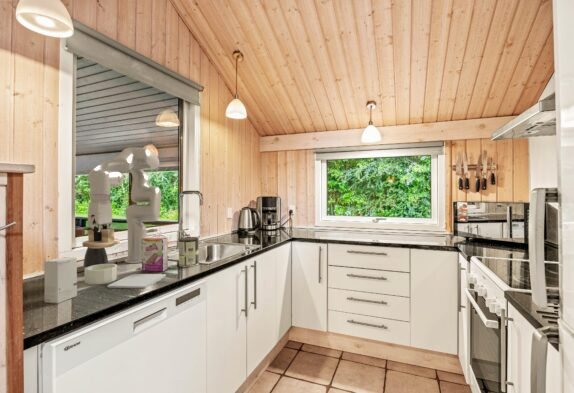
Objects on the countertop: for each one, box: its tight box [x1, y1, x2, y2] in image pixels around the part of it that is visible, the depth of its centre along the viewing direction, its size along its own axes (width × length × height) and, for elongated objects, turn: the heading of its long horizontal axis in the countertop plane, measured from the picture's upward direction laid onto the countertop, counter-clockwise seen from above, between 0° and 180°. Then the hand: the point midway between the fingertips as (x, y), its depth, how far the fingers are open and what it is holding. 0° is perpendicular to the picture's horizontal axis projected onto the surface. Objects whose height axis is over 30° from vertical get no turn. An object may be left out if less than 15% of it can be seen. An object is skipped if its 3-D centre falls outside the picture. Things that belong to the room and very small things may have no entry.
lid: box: [82, 228, 120, 248], centre depth 135 cm, size 14×14×7 cm
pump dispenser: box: [82, 247, 109, 269], centre depth 149 cm, size 10×10×15 cm
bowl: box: [84, 263, 118, 286], centre depth 135 cm, size 12×12×6 cm
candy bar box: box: [141, 236, 169, 273], centre depth 152 cm, size 11×5×16 cm, turn 84°
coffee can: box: [178, 236, 200, 268], centre depth 164 cm, size 10×10×14 cm
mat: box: [107, 273, 167, 290], centre depth 134 cm, size 18×16×1 cm
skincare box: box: [43, 256, 78, 304], centre depth 112 cm, size 8×6×15 cm
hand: (101, 239), depth 135 cm, fingers closed on lid, 4 cm apart
